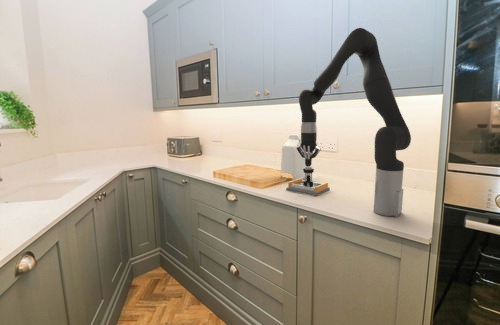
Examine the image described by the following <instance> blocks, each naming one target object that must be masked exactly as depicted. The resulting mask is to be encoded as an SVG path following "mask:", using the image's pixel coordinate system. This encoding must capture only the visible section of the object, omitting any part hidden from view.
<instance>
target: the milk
mask: <svg viewBox="0 0 500 325" xmlns="http://www.w3.org/2000/svg"><path fill="white" fill-rule="evenodd" d="M288 136H289V137H288V138H287V140H286V141H285V142H284V144H283V145H282V146H281V147H282V148H281V162H280V163H281V164H280V174H281V173H288V174H291V175H292V176H293V179H292V181H293V180H296V179H299V178H302V179H305V173H304V170H303V169H304V168H305V167H307V166H306V165H305V158H303V157H301V155H300V153H299V152H298V150H297V147H299V146H300V144H301V136H300V135H299V134H289V135H288ZM302 150H303V149H302ZM306 177H307V174H306Z"/></svg>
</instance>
